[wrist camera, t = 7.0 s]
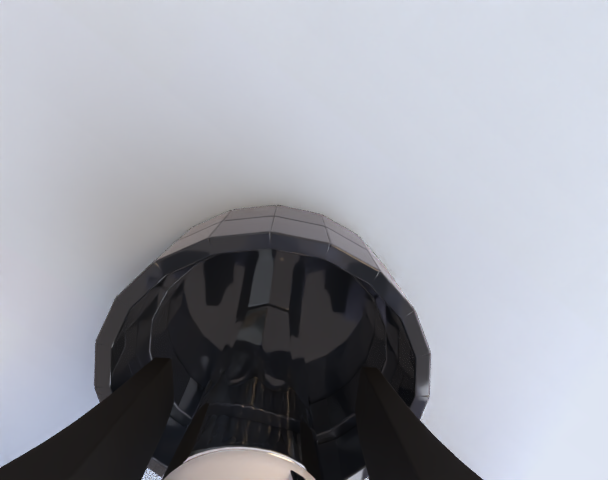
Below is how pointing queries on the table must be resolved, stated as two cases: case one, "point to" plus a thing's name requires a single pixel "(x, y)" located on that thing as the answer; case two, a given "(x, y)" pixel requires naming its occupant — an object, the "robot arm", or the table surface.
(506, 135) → the table surface
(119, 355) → the bowl
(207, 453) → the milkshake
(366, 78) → the table surface
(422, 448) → the robot arm
